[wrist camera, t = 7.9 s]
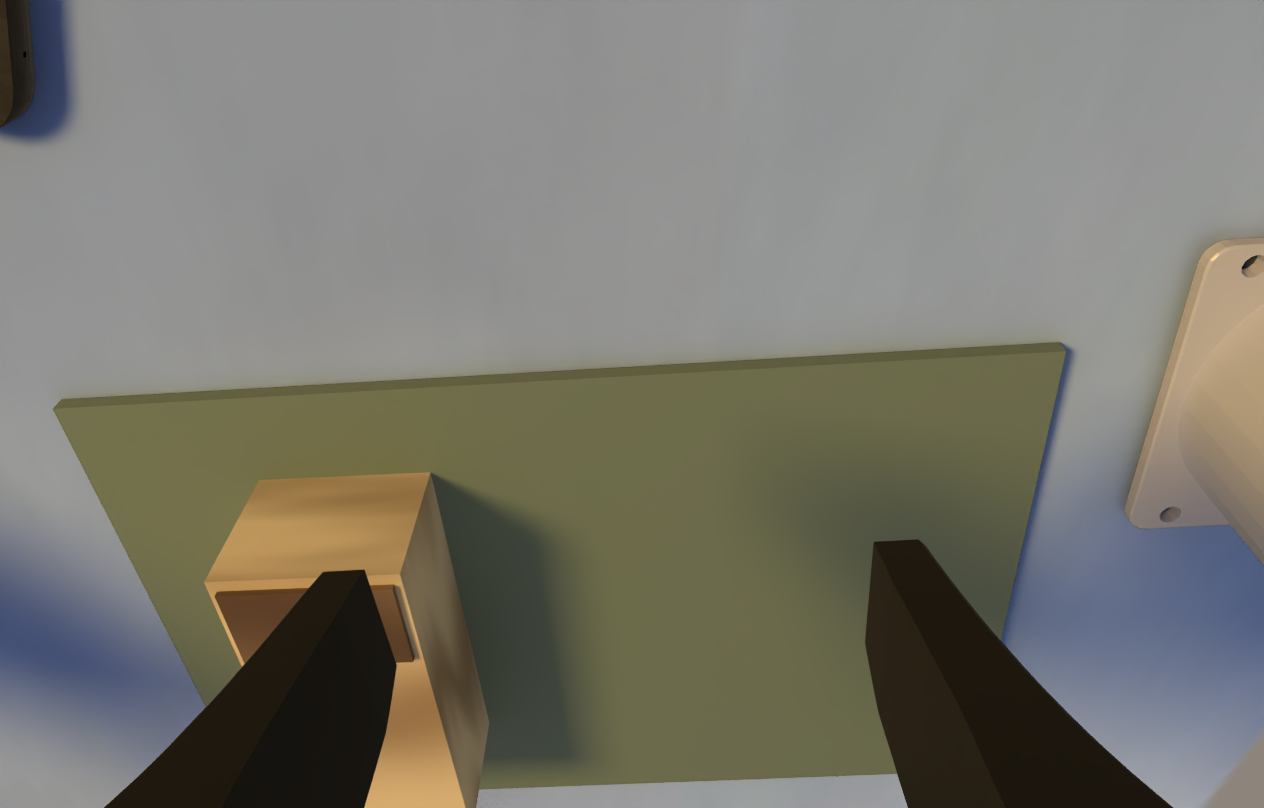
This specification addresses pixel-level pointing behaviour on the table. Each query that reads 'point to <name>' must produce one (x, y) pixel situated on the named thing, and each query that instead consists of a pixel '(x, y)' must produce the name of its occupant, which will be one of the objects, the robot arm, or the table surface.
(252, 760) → the robot arm
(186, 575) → the rubber mat
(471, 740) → the wooden cubby box
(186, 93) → the table surface
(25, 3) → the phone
